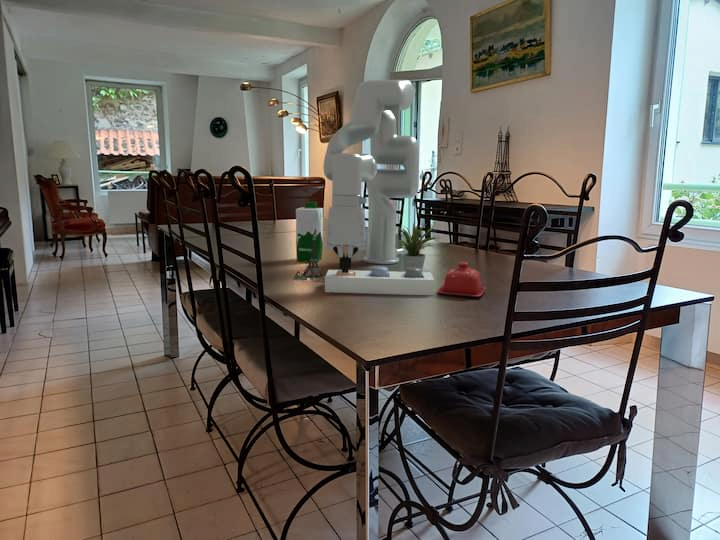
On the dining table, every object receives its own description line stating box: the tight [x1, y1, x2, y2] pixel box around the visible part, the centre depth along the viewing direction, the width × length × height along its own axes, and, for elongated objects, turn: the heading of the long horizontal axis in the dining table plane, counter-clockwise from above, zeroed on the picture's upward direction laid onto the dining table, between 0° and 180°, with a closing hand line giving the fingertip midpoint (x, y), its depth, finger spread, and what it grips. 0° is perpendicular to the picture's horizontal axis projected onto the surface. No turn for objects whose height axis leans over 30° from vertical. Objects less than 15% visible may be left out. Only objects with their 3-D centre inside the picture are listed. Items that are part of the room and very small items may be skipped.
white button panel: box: [324, 269, 436, 296], centre depth 138 cm, size 28×10×4 cm, turn 88°
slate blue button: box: [370, 265, 389, 277], centre depth 138 cm, size 4×4×3 cm
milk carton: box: [295, 201, 324, 263], centre depth 178 cm, size 9×9×20 cm
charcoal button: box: [405, 267, 423, 278], centre depth 137 cm, size 4×4×3 cm
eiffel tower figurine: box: [293, 233, 326, 283], centre depth 153 cm, size 15×10×13 cm
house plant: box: [394, 222, 441, 272], centre depth 156 cm, size 14×14×16 cm
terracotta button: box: [337, 269, 354, 276], centre depth 138 cm, size 4×4×3 cm
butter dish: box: [436, 261, 487, 298], centre depth 136 cm, size 12×12×8 cm
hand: (345, 271), depth 138 cm, fingers closed
